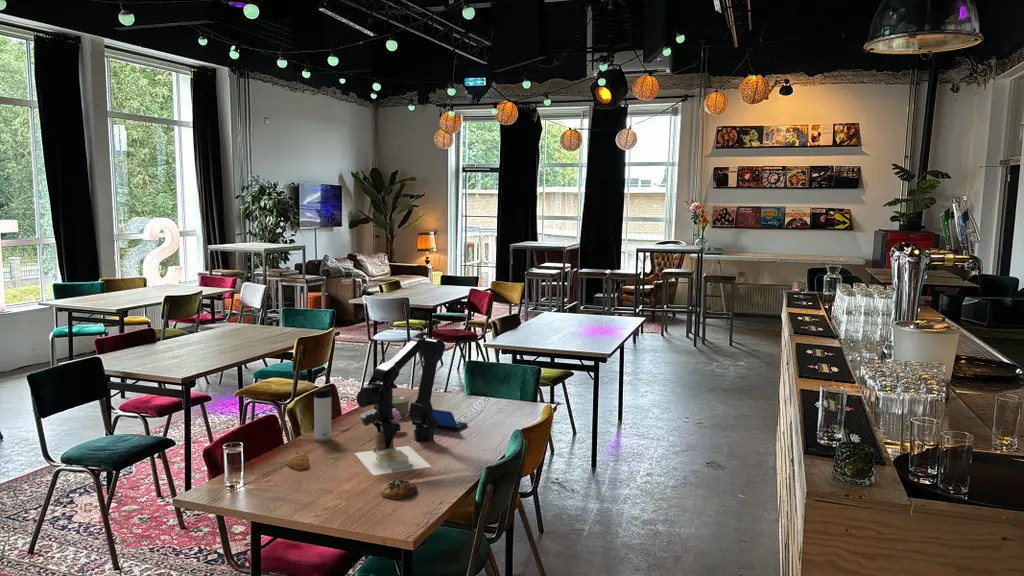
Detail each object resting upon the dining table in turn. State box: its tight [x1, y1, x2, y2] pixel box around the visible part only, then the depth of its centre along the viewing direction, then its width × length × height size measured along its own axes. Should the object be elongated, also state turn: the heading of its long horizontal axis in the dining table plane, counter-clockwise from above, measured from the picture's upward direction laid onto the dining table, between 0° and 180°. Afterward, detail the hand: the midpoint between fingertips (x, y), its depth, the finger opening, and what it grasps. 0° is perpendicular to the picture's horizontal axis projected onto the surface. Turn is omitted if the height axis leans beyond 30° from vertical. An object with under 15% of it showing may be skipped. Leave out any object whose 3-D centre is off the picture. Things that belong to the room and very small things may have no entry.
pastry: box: [286, 451, 310, 471], centre depth 238 cm, size 9×7×4 cm
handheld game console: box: [433, 409, 468, 433], centre depth 285 cm, size 16×13×9 cm
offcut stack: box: [376, 450, 408, 464], centre depth 243 cm, size 10×5×2 cm, turn 117°
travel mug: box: [313, 387, 333, 443], centre depth 266 cm, size 6×7×20 cm
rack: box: [354, 445, 432, 476], centre depth 243 cm, size 20×24×2 cm
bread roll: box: [380, 478, 418, 500], centre depth 216 cm, size 11×11×5 cm
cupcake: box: [391, 408, 401, 423], centre depth 276 cm, size 9×9×10 cm
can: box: [393, 395, 410, 417], centre depth 302 cm, size 12×12×7 cm
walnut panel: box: [374, 432, 394, 452], centre depth 250 cm, size 6×2×7 cm, turn 117°
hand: (384, 444), depth 250 cm, fingers open, 7 cm apart
